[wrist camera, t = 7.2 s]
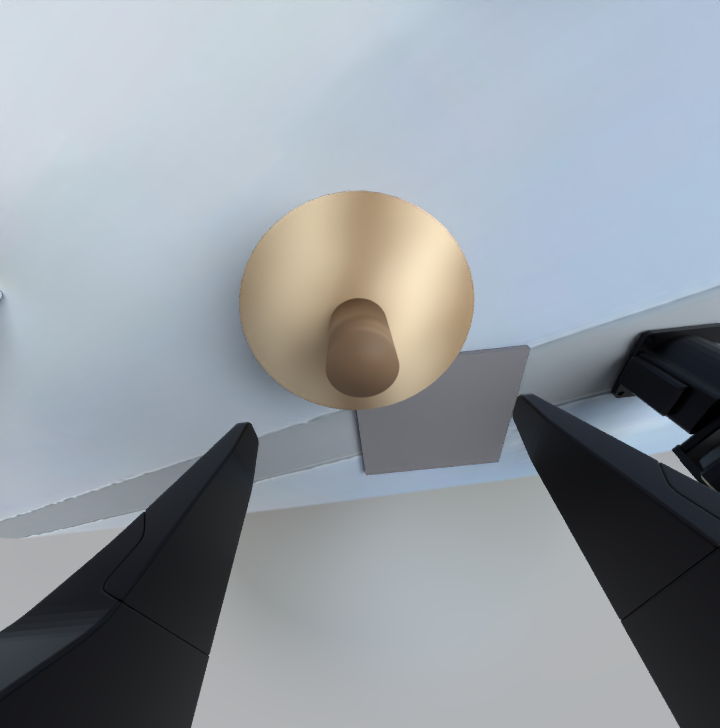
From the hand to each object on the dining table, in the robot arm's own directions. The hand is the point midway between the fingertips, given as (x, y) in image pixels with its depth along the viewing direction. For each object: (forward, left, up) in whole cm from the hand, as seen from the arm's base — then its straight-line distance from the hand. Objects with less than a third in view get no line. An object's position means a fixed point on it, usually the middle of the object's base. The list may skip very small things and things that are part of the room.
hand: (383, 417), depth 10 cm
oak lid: (+1, 0, -7) cm, 7 cm away
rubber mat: (-5, +13, -12) cm, 18 cm away
